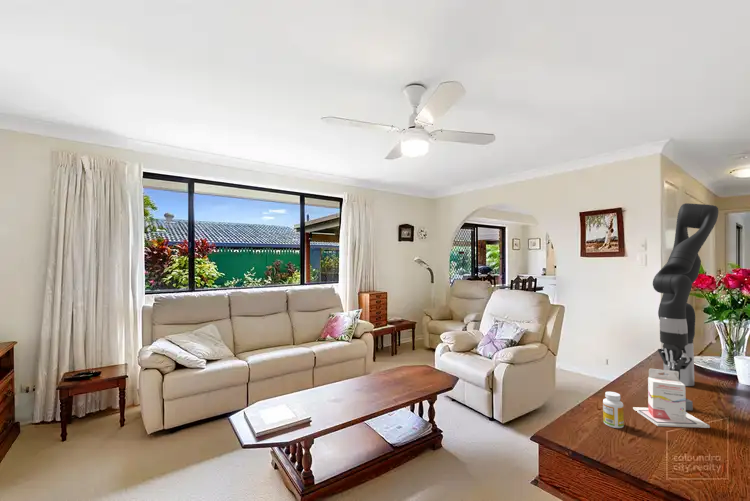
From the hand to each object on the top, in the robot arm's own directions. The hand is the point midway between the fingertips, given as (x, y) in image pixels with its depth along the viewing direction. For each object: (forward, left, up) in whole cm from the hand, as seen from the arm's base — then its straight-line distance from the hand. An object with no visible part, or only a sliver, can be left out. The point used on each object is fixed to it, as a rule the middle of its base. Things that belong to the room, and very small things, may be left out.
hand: (675, 379), depth 122 cm
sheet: (+10, -9, -9) cm, 16 cm away
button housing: (0, 0, -9) cm, 9 cm away
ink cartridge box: (+11, -10, -9) cm, 17 cm away
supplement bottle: (+16, -29, -10) cm, 35 cm away
